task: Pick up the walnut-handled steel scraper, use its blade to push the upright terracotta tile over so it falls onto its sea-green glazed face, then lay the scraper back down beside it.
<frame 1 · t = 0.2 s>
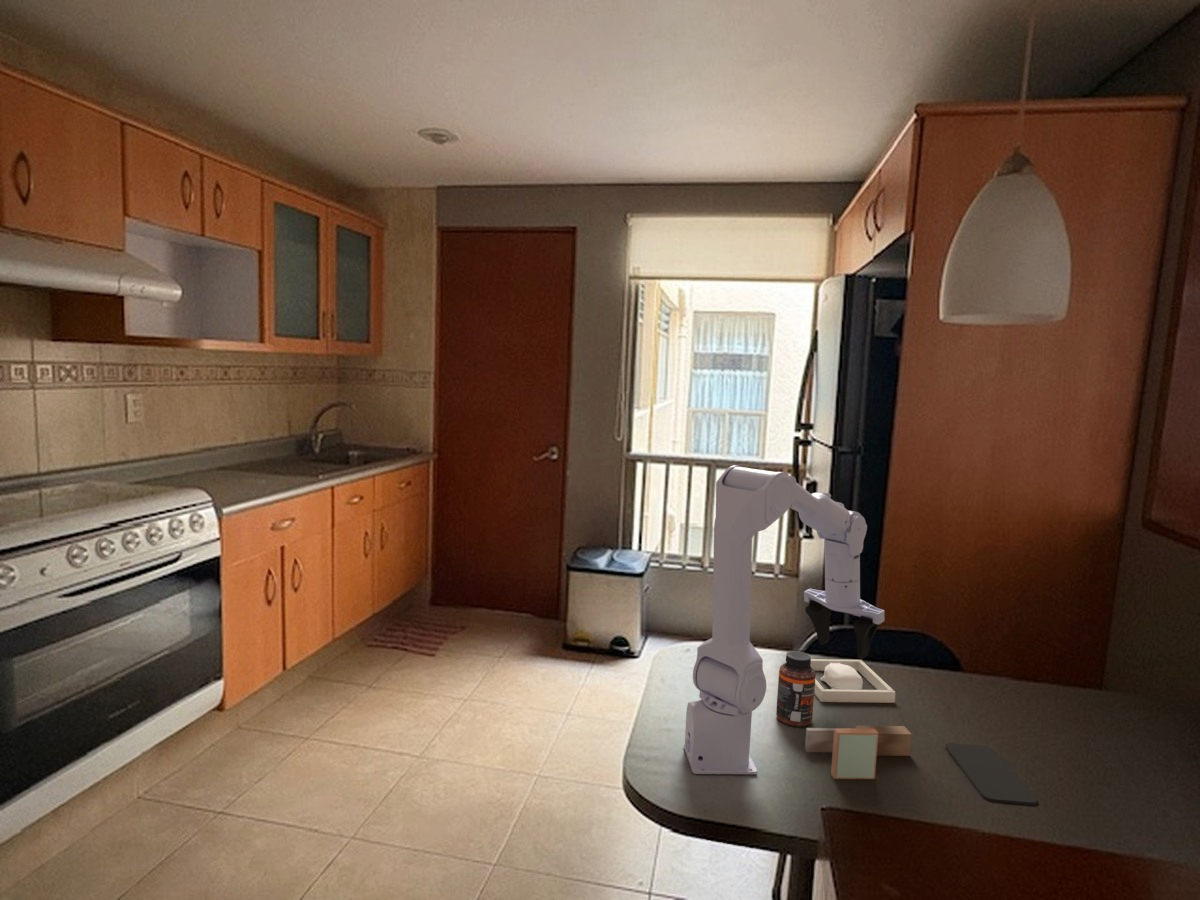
hand: (843, 649, 123), 10 cm above the table, tool pointing down, fingers open, 7 cm apart
supplement bottle: (793, 720, 118), on the table
phone: (987, 777, 103), on the table
tile: (852, 776, 101), on the table
garlic: (841, 686, 133), resting in garlic dish rim
garlic dish rim: (841, 684, 132), on the table
scraper: (856, 751, 108), on the table
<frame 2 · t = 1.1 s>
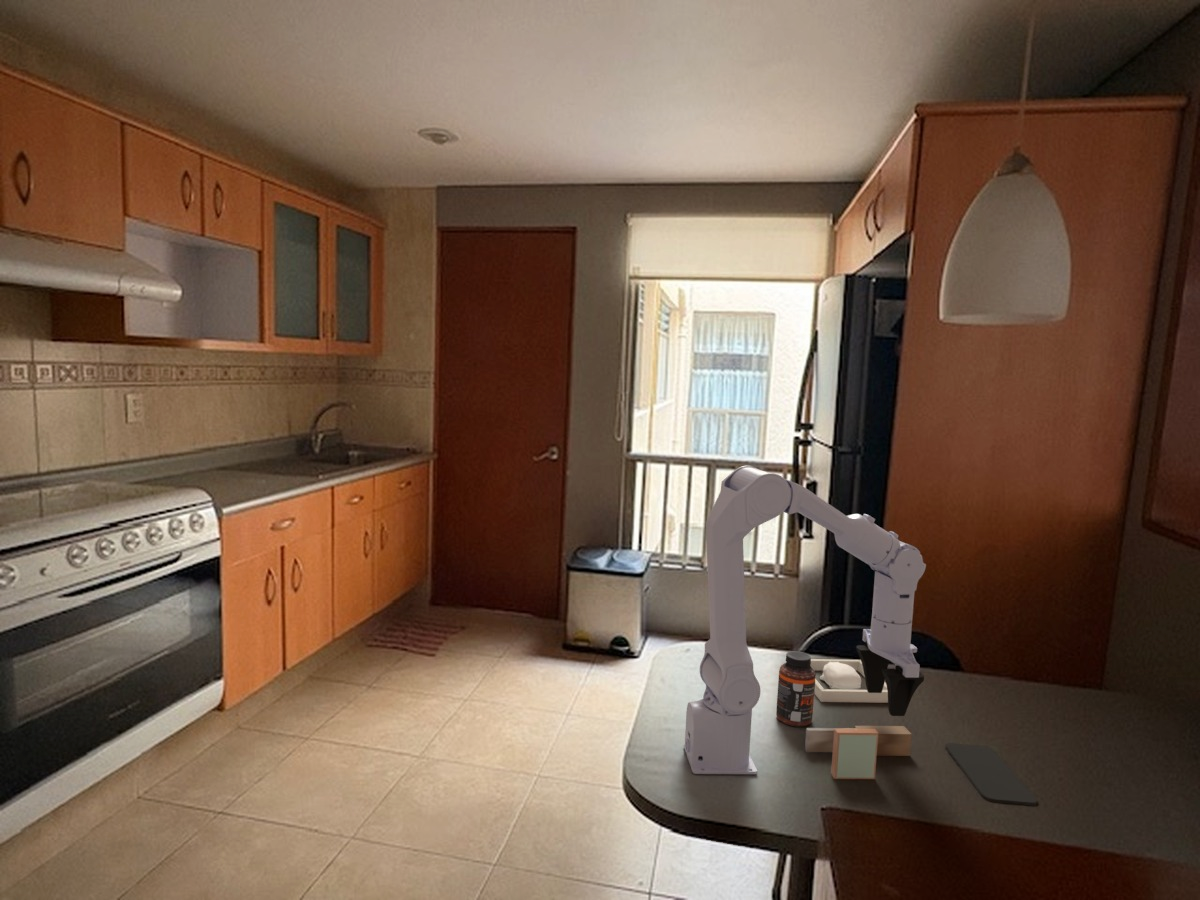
hand: (885, 703, 108), 8 cm above the table, tool pointing down, fingers open, 7 cm apart
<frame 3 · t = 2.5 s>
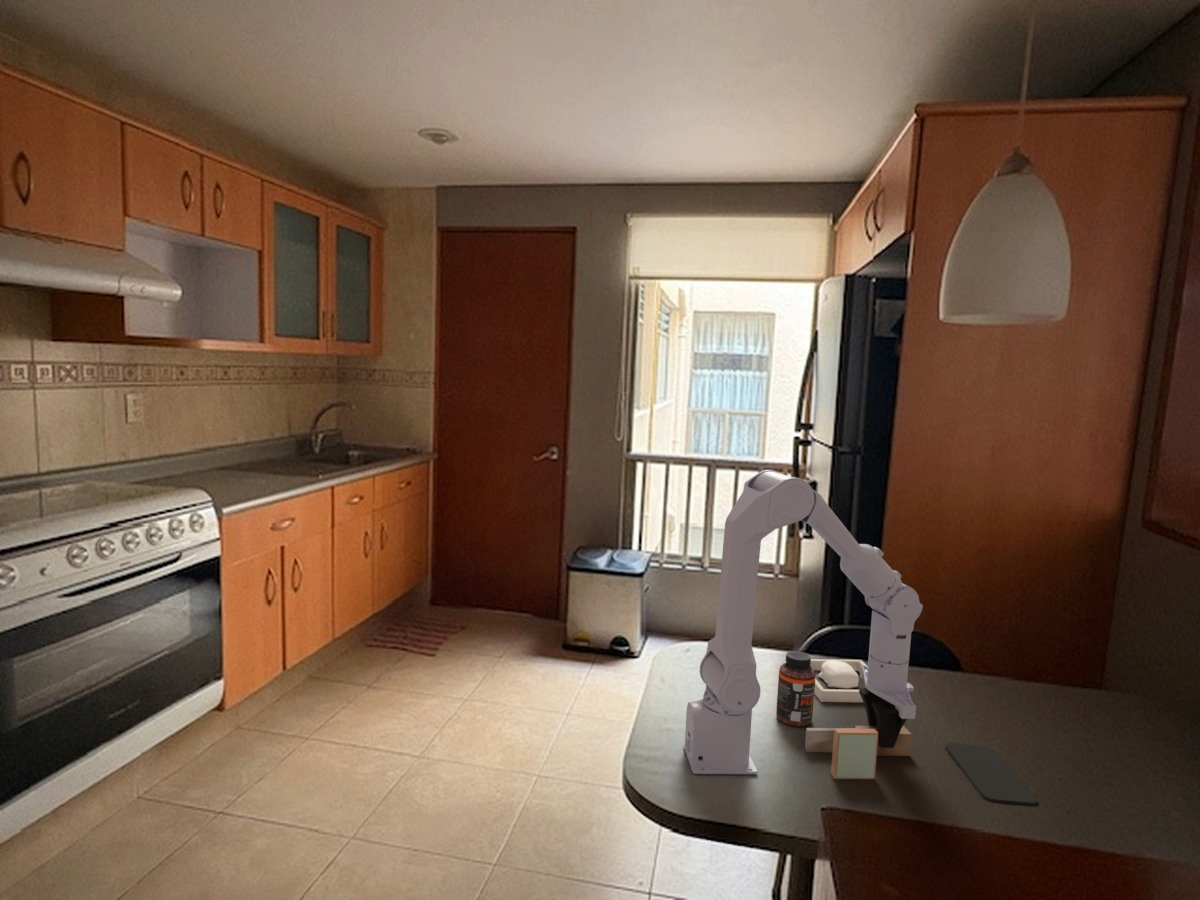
hand: (881, 741, 108), 2 cm above the table, tool pointing down, fingers closed on scraper, 2 cm apart
scraper: (856, 751, 108), on the table, touching gripper
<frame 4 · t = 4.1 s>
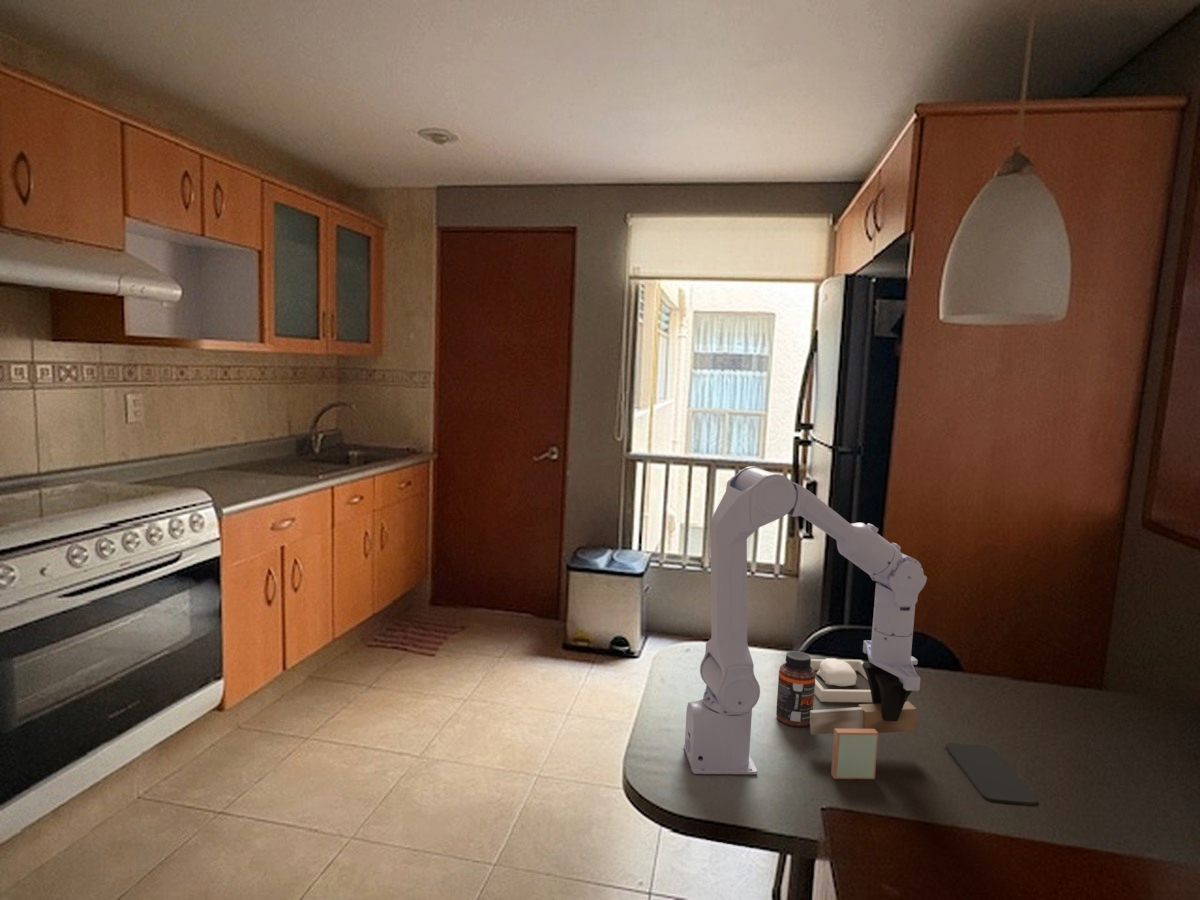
hand: (885, 715, 107), 6 cm above the table, tool pointing down, fingers closed on scraper, 2 cm apart
scraper: (861, 729, 107), point 4 cm above the table, touching gripper
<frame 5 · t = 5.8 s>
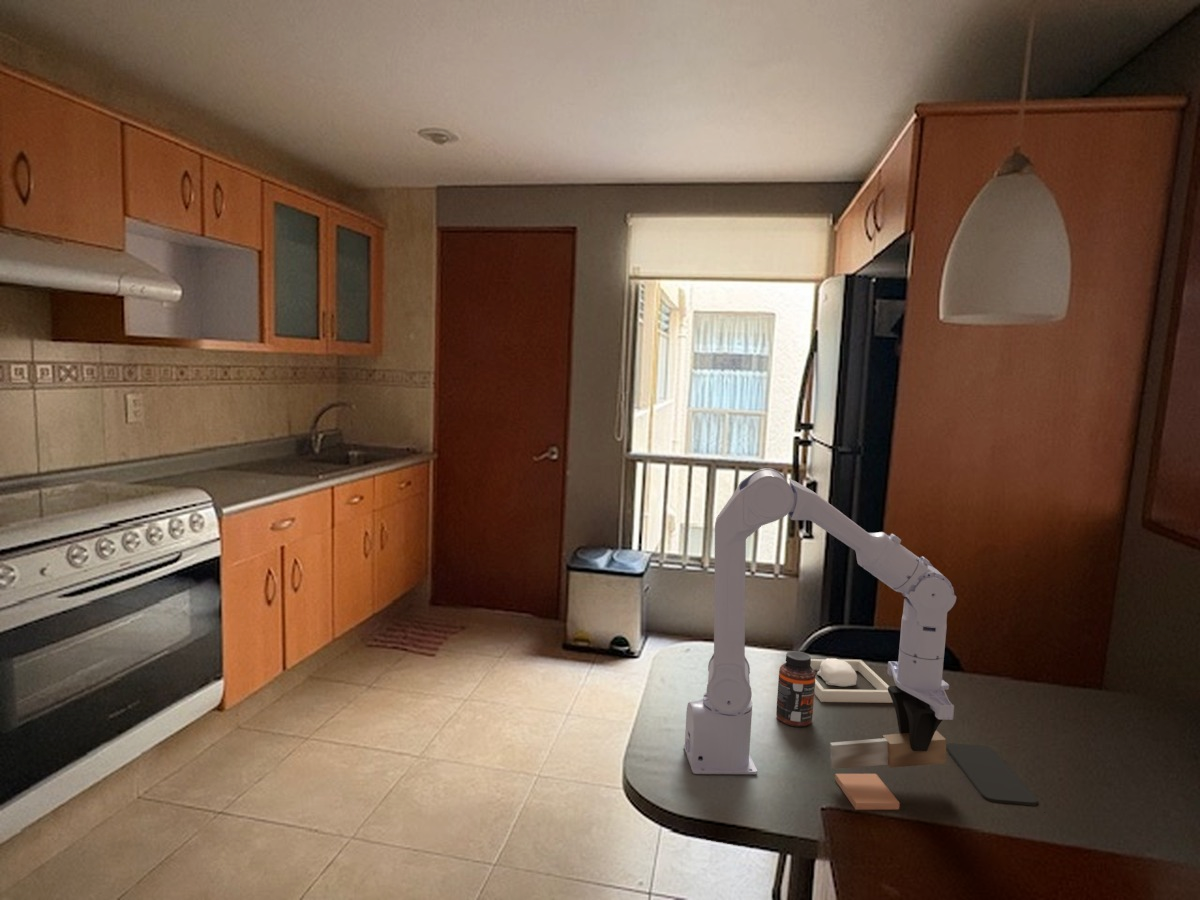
hand: (913, 744, 99), 6 cm above the table, tool pointing down, fingers closed on scraper, 2 cm apart
tile: (855, 777, 100), on the table, tilted 90°
scraper: (886, 762, 99), point 3 cm above the table, tilted 5°, touching gripper
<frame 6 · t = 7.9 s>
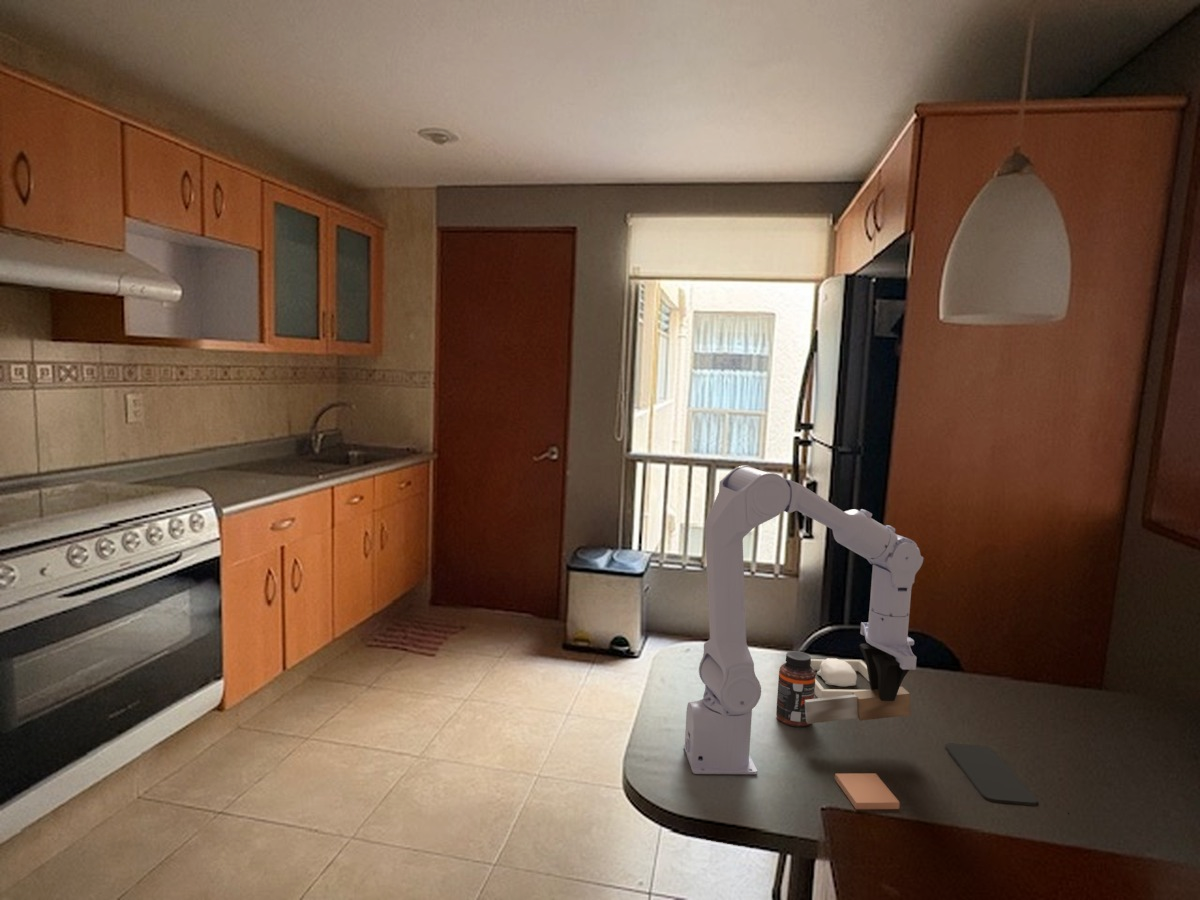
hand: (882, 695, 109), 9 cm above the table, tool pointing down, fingers closed on scraper, 2 cm apart
scraper: (856, 716, 109), point 5 cm above the table, tilted 7°, touching gripper
when the fingers open (3 cm above the table, at t = 9.2 s): scraper stays where it is, on the table.
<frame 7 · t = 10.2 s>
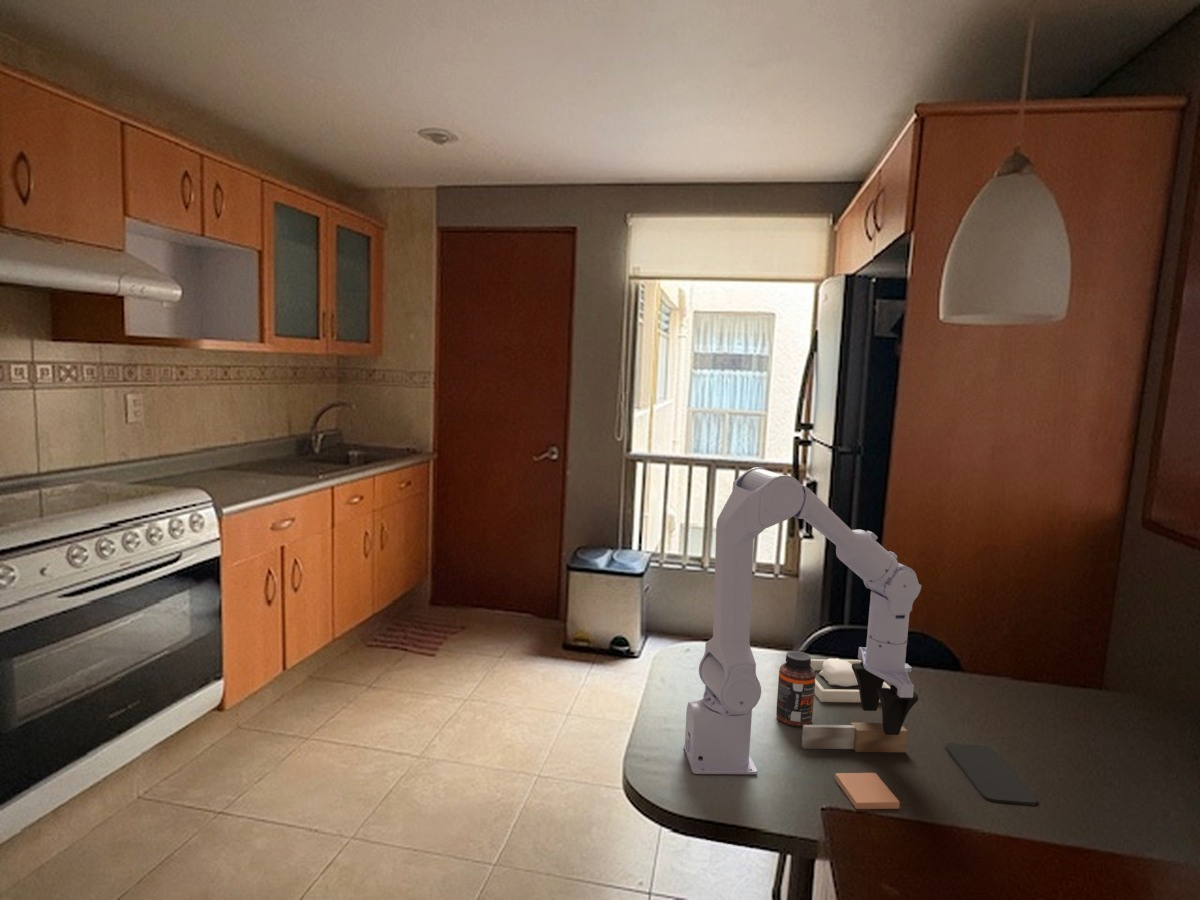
hand: (879, 721, 109), 4 cm above the table, tool pointing down, fingers open, 7 cm apart
scraper: (852, 747, 109), on the table
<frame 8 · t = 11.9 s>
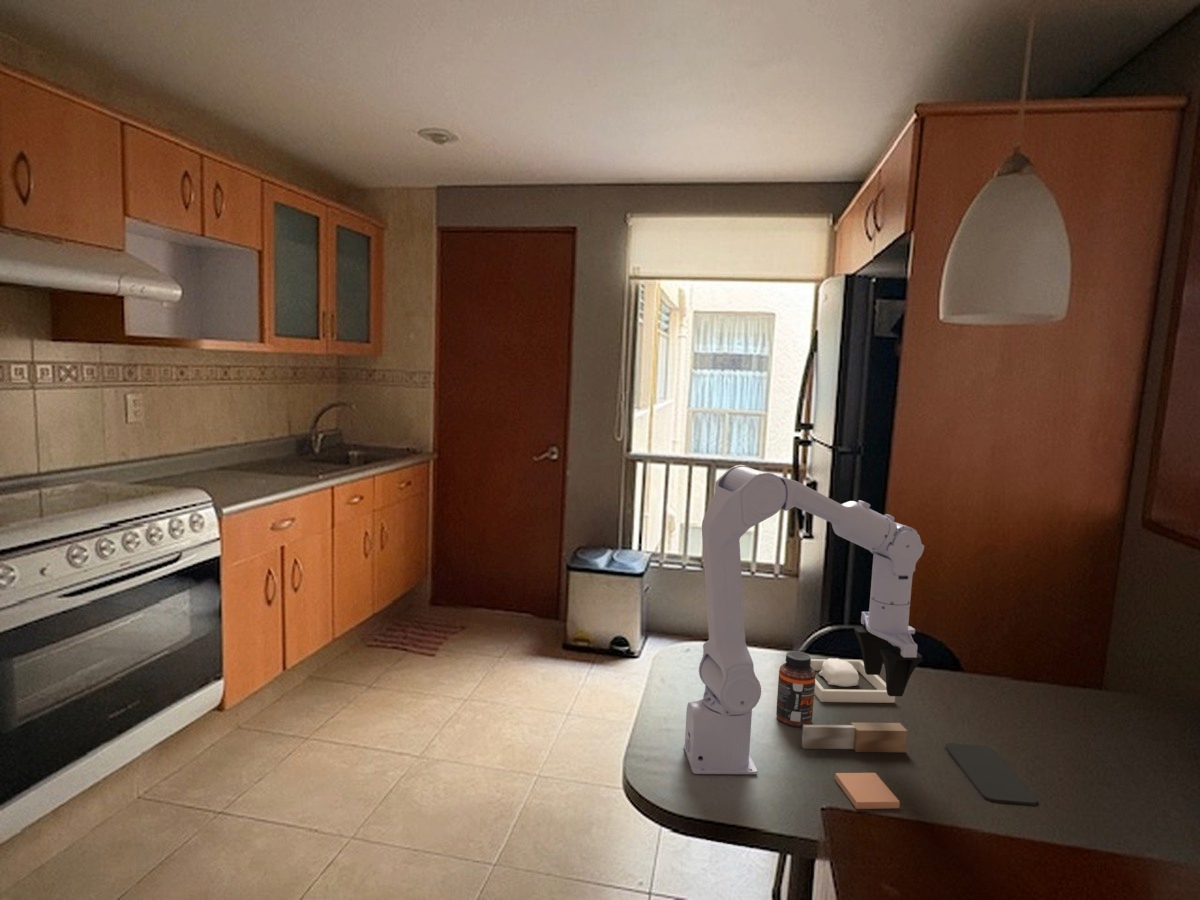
hand: (883, 684, 108), 10 cm above the table, tool pointing down, fingers open, 7 cm apart
at the end: tile tilted 90°; the gripper is holding nothing; scraper inside the target area (0.2 cm from its centre), on the table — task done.
